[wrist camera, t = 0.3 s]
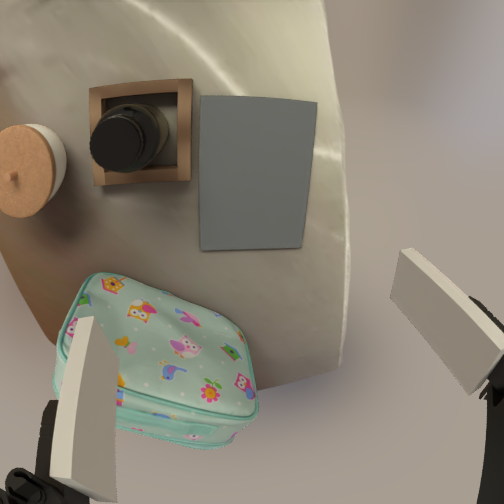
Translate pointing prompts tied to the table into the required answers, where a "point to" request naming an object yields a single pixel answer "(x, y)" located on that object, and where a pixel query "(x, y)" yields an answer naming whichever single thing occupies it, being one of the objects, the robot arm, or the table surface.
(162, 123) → the supplement bottle
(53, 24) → the table surface
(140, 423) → the lunch box
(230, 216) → the slate mat
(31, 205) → the lidded jar
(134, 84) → the walnut collar
